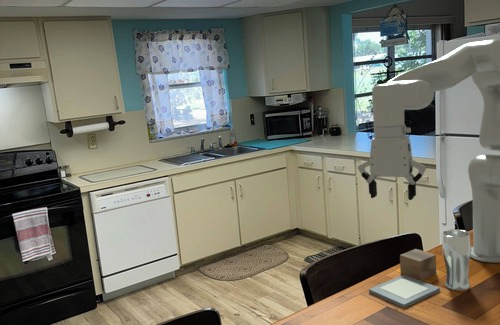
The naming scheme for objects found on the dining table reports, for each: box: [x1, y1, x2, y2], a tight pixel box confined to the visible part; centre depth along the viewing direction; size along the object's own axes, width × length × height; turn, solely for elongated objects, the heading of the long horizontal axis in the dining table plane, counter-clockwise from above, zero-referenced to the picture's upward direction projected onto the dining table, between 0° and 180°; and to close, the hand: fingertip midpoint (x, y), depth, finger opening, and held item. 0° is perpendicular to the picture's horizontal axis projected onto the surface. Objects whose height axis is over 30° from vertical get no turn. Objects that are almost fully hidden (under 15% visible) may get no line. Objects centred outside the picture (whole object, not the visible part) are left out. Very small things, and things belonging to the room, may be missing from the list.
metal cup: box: [441, 228, 472, 292], centre depth 125 cm, size 7×7×15 cm
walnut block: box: [399, 248, 437, 281], centre depth 135 cm, size 7×7×6 cm
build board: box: [368, 274, 441, 309], centre depth 125 cm, size 14×12×1 cm
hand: (392, 197), depth 121 cm, fingers open, 9 cm apart
